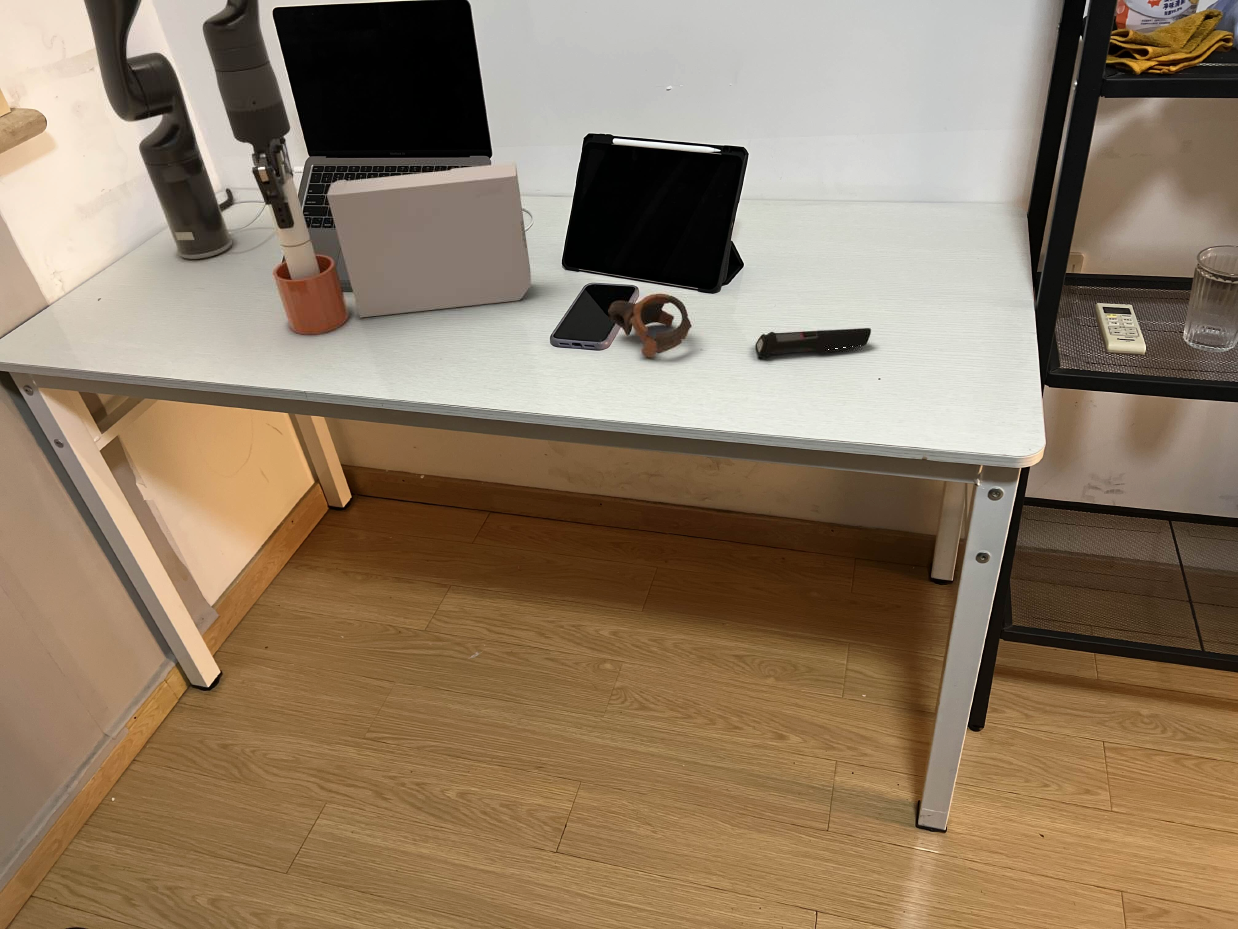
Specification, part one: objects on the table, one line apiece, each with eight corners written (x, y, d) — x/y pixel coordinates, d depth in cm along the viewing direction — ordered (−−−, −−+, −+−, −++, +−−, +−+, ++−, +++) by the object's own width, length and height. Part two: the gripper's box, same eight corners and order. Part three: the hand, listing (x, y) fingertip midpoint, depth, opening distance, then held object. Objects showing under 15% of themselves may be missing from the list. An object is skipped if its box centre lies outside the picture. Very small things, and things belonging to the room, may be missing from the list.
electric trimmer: (871, 355, 126) (874, 334, 124) (758, 361, 126) (759, 341, 124) (865, 341, 129) (868, 321, 127) (754, 347, 129) (755, 327, 127)
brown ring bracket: (691, 325, 136) (700, 295, 128) (676, 380, 132) (684, 352, 125) (613, 304, 136) (617, 272, 129) (596, 357, 133) (599, 328, 125)
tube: (312, 282, 137) (283, 184, 128) (286, 281, 138) (255, 183, 129) (324, 269, 141) (297, 172, 132) (299, 268, 142) (270, 172, 132)
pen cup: (294, 310, 147) (277, 258, 142) (350, 303, 148) (336, 251, 143) (286, 338, 140) (269, 284, 135) (346, 330, 141) (331, 276, 136)
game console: (363, 301, 148) (331, 180, 136) (532, 282, 149) (515, 161, 137) (359, 318, 144) (325, 195, 132) (533, 299, 145) (516, 175, 133)
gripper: (273, 112, 118) (310, 237, 129) (288, 81, 130) (320, 199, 140) (214, 119, 118) (255, 244, 128) (233, 87, 129) (270, 205, 140)
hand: (289, 220), depth 134 cm, fingers closed on tube, 4 cm apart
